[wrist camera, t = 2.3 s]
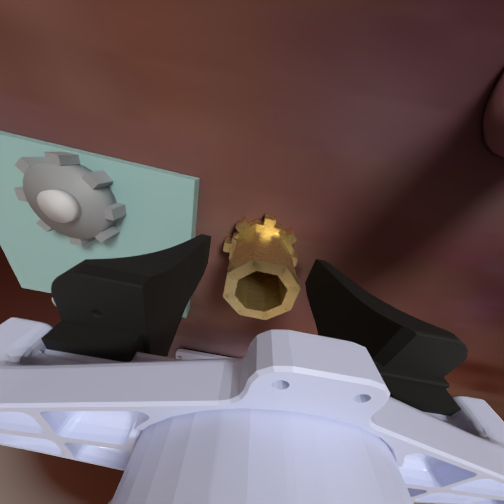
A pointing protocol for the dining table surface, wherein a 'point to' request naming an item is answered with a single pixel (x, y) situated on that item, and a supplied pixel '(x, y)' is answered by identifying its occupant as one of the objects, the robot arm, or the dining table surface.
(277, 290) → the planet gear
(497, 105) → the beer glass
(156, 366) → the robot arm
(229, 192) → the dining table surface
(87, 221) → the carrier plate
